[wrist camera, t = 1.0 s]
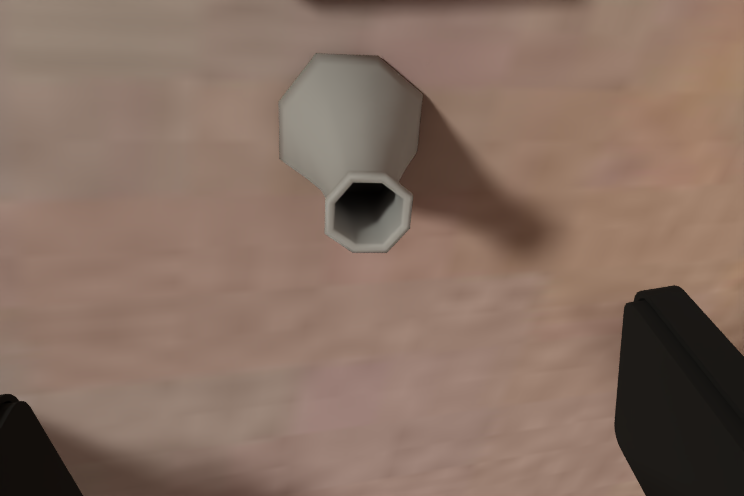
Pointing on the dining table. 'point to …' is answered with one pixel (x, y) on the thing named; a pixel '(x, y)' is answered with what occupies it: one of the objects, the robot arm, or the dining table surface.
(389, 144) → the flask
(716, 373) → the robot arm
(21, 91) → the dining table surface
